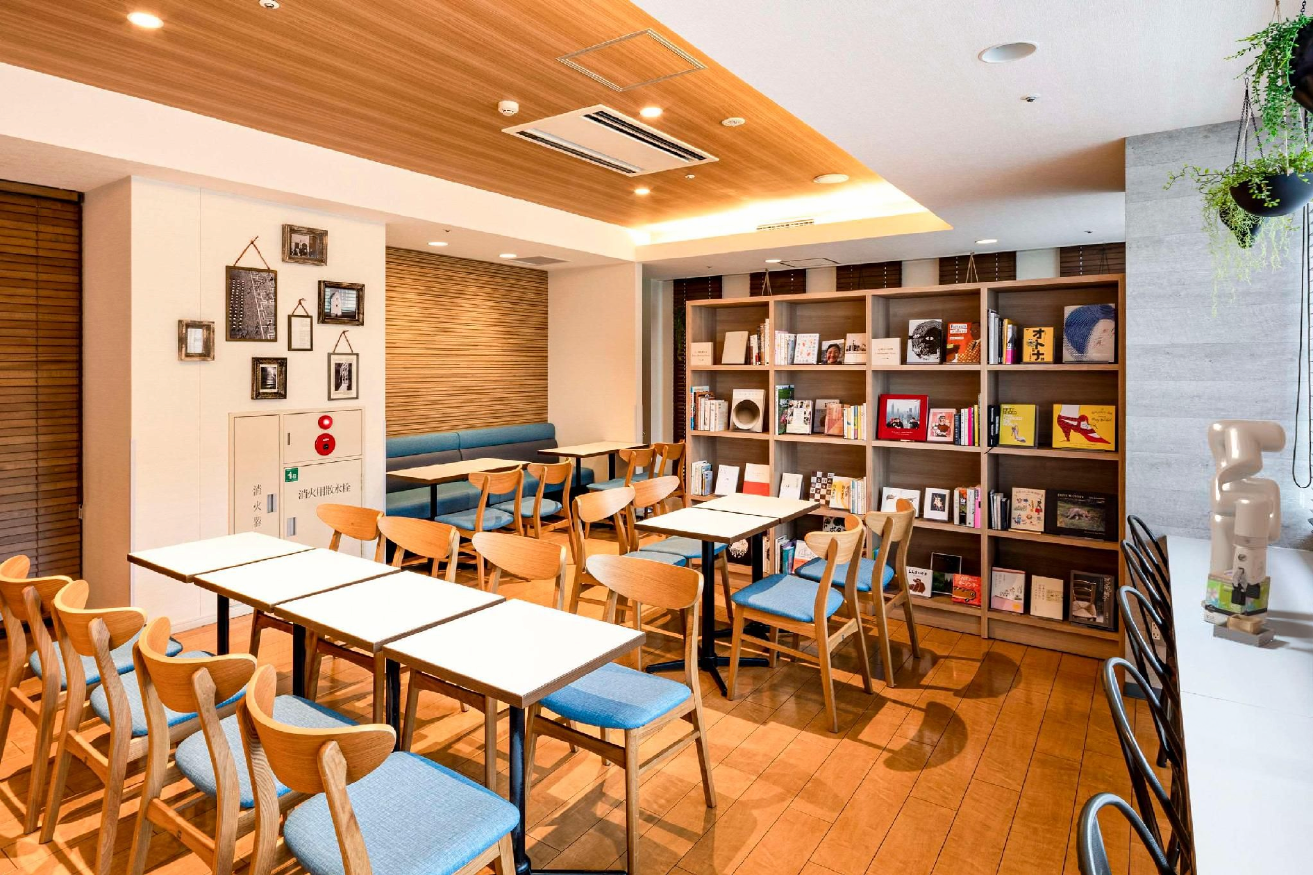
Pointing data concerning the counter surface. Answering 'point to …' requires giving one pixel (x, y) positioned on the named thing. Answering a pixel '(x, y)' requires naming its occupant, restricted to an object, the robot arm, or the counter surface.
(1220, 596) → the tea box
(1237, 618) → the oak crate
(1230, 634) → the grey square tray
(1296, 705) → the counter surface
